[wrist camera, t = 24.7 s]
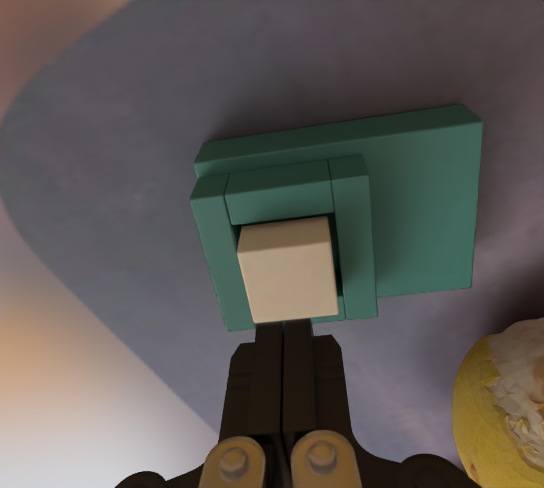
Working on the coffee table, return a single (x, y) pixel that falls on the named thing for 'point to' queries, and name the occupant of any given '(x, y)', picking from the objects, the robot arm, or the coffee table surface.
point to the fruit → (502, 408)
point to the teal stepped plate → (349, 203)
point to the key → (288, 269)
